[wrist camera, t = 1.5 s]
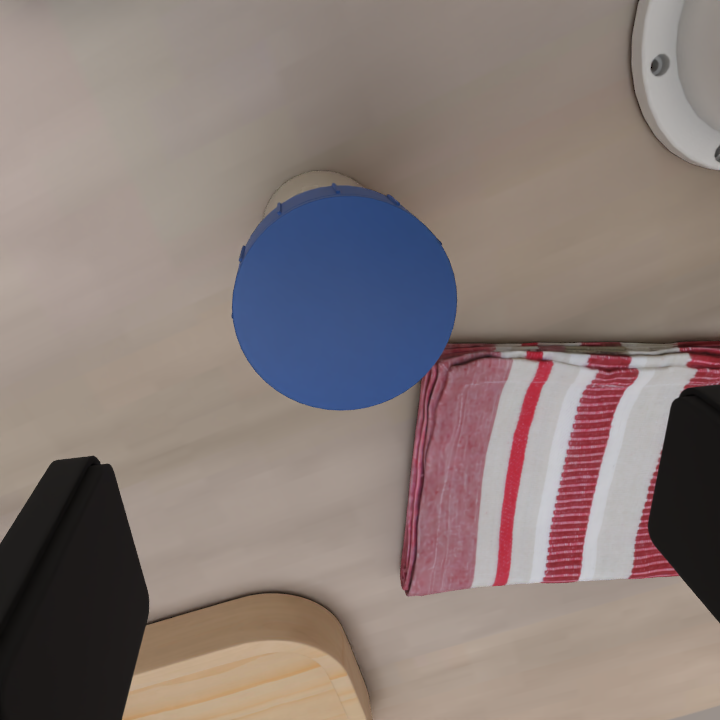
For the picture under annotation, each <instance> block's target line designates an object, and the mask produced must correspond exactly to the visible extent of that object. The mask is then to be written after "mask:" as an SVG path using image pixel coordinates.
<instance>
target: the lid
mask: <svg viewBox="0 0 720 720" xmlns="http://www.w3.org/2000/svg"><path fill="white" fill-rule="evenodd" d="M441 245H442V243H441V242H440V241H439V240H438V239H437V238H436V237H435V236H434V235H433V233H432V232H431V231H430V230H429V229H428V228H427V227H426V226H425V225H424V224H423V223H422V222H421V221H419V220H418V219H417V218H416V217H415V216H414V215H412V214H411V213H410V212H409V211H408V210H407V209H405V208H404V207H403V206H402V205H400V203H399V202H398V201H397V200H395V199H394V198H393V197H392V196H391V195H389V194H388V195H387V196H385V195H383V194H381V193H378V192H376V191H373V190H369V189H366V188H362V187H355V186H348V185H336V184H335V183H332V186H326V187H319V188H315V189H312V190H308V191H305V192H303V193H300V194H298V195H296V196H294V197H291V198H290V199H288V200H287V201H285V202H283V203H282V204H281V203H280V202H279V203H278V204H277V207H276V208H275V209H274V210H273V211H271V212H270V213H269V214H268V215H267V216H266V217H265V218H264V219H263V220H262V221H261V222H260V224H259V225H258V226H257V228H256V229H255V231H254V232H253V233H252V235H251V237H250V239H249V241H248V242H247V244H246V246H244V245H243V247H242V250H241V254H240V258H239V261H240V264H239V268H238V272H237V276H236V281H235V285H234V290H233V301H232V318H233V323H234V327H235V332H236V336H237V339H238V341H239V344H240V347H241V349H242V351H243V353H244V355H245V356H246V358H247V360H248V362H249V363H250V364H251V366H252V367H253V368H254V370H255V371H256V372H257V373H258V374H259V375H260V377H261V378H262V379H263V380H264V381H265V382H266V383H268V384H269V385H270V386H271V387H273V388H274V389H275V390H277V391H278V392H280V393H281V394H283V395H285V396H286V397H288V398H290V399H293V400H295V401H297V402H299V403H302V404H305V405H308V406H312V407H316V408H321V409H327V410H355V409H361V408H367V407H370V406H374V405H377V404H381V403H383V402H385V401H388V400H390V399H393V398H394V397H396V396H398V395H400V394H402V393H404V392H405V391H407V390H408V389H409V388H411V387H412V386H414V385H415V384H416V383H417V382H418V381H419V380H421V379H422V378H423V377H424V376H425V375H426V374H427V373H428V372H429V370H430V369H431V368H432V367H433V366H434V365H435V363H436V362H437V360H438V359H439V357H440V356H441V354H442V353H443V351H444V349H445V347H446V345H447V343H448V341H449V338H450V335H451V332H452V329H453V326H454V321H455V317H456V307H457V290H456V283H455V278H454V273H453V270H452V267H451V264H450V261H449V259H448V257H447V255H446V253H445V251H444V249H443V247H442V246H441Z"/></svg>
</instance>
